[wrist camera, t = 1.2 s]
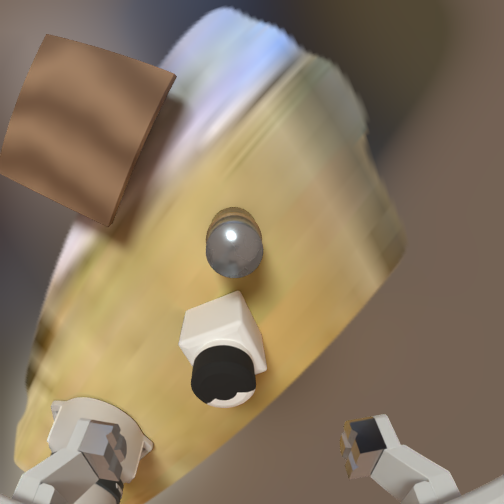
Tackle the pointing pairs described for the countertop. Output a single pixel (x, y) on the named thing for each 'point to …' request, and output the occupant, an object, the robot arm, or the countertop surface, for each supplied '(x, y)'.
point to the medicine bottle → (223, 350)
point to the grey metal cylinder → (234, 243)
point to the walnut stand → (82, 125)
